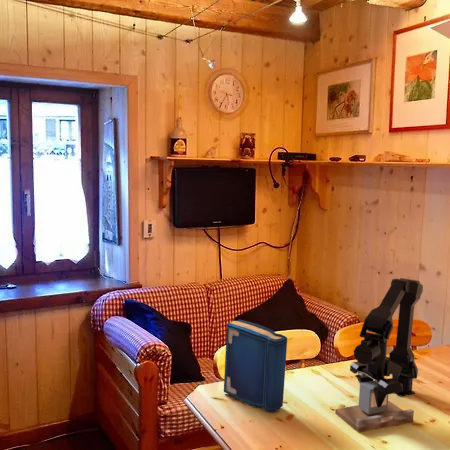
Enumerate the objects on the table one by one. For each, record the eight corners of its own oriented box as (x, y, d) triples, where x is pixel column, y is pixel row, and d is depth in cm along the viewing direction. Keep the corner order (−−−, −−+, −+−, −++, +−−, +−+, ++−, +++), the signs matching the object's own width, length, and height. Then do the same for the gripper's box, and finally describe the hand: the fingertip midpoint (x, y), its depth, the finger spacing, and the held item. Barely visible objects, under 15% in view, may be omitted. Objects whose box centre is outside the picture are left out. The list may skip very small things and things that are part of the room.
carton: (358, 407, 162) (360, 382, 161) (377, 403, 164) (378, 379, 163) (368, 414, 157) (370, 389, 156) (387, 411, 160) (389, 386, 159)
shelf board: (387, 404, 170) (388, 394, 169) (413, 421, 158) (414, 411, 158) (335, 413, 162) (335, 402, 162) (358, 432, 151) (358, 421, 151)
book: (287, 409, 165) (290, 333, 162) (273, 416, 159) (276, 338, 156) (236, 387, 179) (238, 317, 176) (222, 394, 174) (224, 322, 171)
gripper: (419, 362, 153) (415, 413, 155) (379, 341, 170) (376, 387, 172) (388, 367, 149) (384, 418, 151) (350, 345, 166) (347, 391, 168)
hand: (373, 403), depth 160 cm, fingers closed on carton, 5 cm apart
